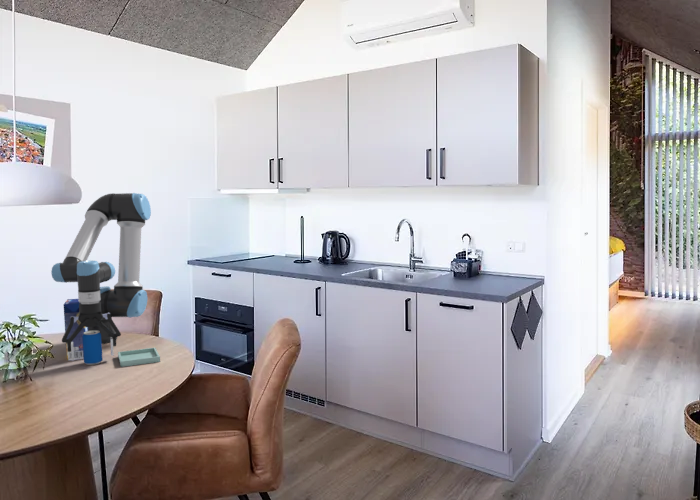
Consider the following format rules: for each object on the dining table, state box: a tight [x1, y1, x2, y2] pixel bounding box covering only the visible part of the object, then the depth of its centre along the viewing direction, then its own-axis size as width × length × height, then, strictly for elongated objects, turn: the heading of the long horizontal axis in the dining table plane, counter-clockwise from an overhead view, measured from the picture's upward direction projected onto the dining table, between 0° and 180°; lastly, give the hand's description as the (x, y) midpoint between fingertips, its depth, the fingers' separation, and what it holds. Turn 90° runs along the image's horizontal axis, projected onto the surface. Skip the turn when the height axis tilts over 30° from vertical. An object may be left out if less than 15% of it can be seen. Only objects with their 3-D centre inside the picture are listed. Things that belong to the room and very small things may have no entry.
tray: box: [117, 347, 161, 368], centre depth 217 cm, size 14×14×2 cm
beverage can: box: [82, 330, 103, 366], centre depth 212 cm, size 6×6×12 cm
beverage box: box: [63, 298, 88, 361], centre depth 221 cm, size 7×11×22 cm, turn 19°
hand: (93, 357), depth 212 cm, fingers open, 13 cm apart
